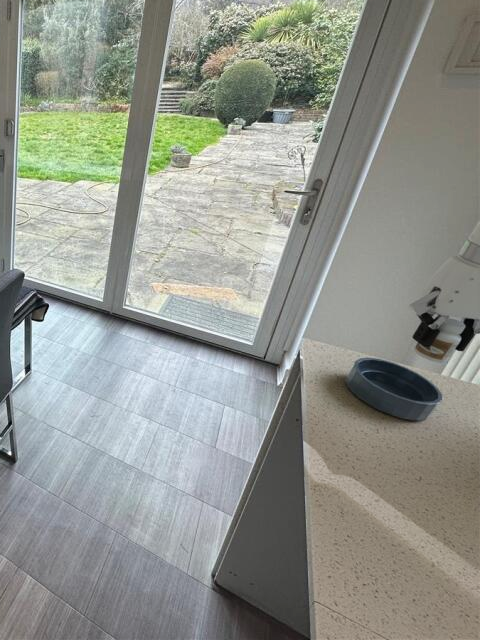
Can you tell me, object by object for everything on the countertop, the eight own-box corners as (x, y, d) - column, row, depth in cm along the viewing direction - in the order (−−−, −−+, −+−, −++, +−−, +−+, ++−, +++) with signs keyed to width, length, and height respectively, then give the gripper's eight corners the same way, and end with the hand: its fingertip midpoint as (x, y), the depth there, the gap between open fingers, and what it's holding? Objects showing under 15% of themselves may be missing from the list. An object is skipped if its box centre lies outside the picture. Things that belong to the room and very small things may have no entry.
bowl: (397, 380, 91) (409, 362, 88) (447, 427, 79) (462, 409, 77) (331, 371, 93) (340, 353, 91) (370, 416, 81) (382, 397, 79)
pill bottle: (408, 351, 77) (429, 317, 74) (419, 345, 79) (441, 312, 76) (439, 366, 74) (463, 331, 70) (450, 359, 75) (474, 325, 72)
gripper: (532, 251, 69) (471, 338, 77) (417, 242, 72) (370, 327, 80) (583, 272, 62) (510, 364, 71) (454, 261, 65) (399, 351, 73)
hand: (437, 343), depth 75 cm, fingers closed on pill bottle, 4 cm apart
